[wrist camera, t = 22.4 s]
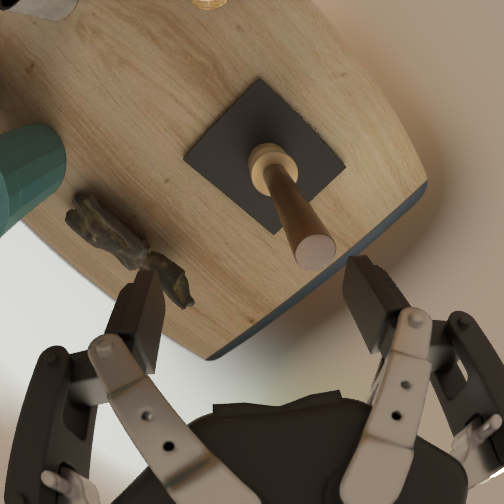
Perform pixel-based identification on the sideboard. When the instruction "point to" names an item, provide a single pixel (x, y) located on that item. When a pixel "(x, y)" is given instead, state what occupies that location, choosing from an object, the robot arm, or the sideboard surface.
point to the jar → (28, 170)
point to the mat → (250, 136)
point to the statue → (126, 246)
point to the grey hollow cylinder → (40, 8)
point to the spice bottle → (208, 4)
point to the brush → (291, 206)
